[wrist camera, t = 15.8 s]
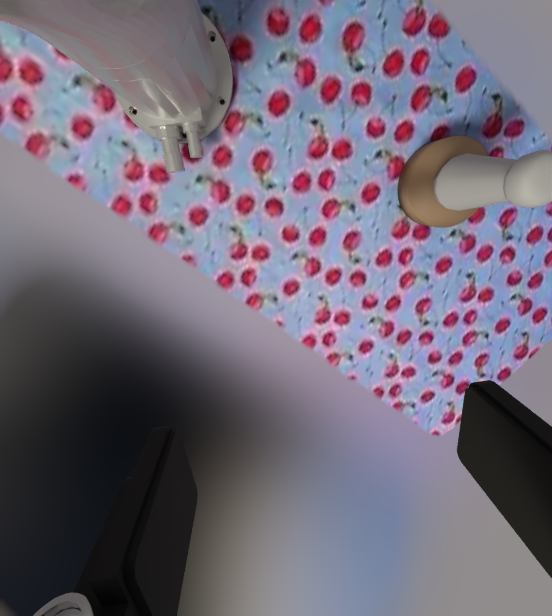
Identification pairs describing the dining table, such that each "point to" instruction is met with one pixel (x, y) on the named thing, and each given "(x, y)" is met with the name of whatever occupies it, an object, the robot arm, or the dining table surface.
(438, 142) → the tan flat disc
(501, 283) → the dining table surface
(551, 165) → the salt shaker
